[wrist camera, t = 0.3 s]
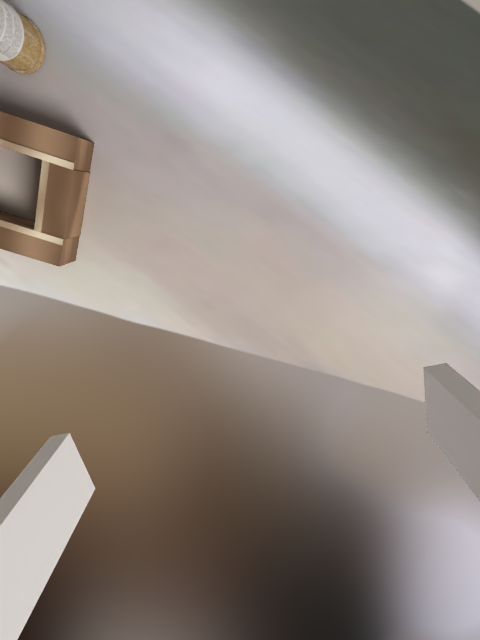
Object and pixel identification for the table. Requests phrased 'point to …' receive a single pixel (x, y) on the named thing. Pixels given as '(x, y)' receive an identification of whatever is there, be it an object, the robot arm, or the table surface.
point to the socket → (48, 191)
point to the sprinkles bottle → (19, 41)
